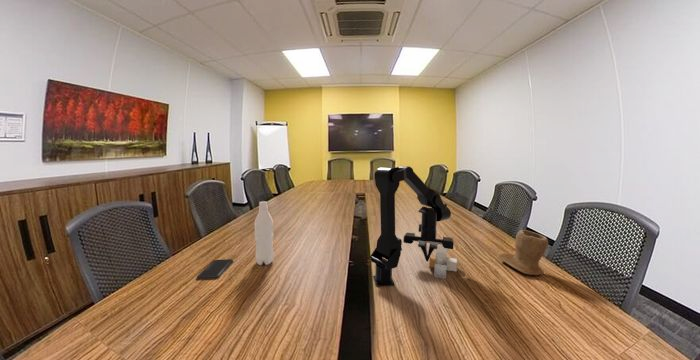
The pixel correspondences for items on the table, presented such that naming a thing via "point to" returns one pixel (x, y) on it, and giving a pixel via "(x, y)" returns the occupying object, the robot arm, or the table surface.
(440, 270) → the housing
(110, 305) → the table surface
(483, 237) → the table surface
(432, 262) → the plug
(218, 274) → the phone
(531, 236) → the brown hat
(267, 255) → the water bottle
